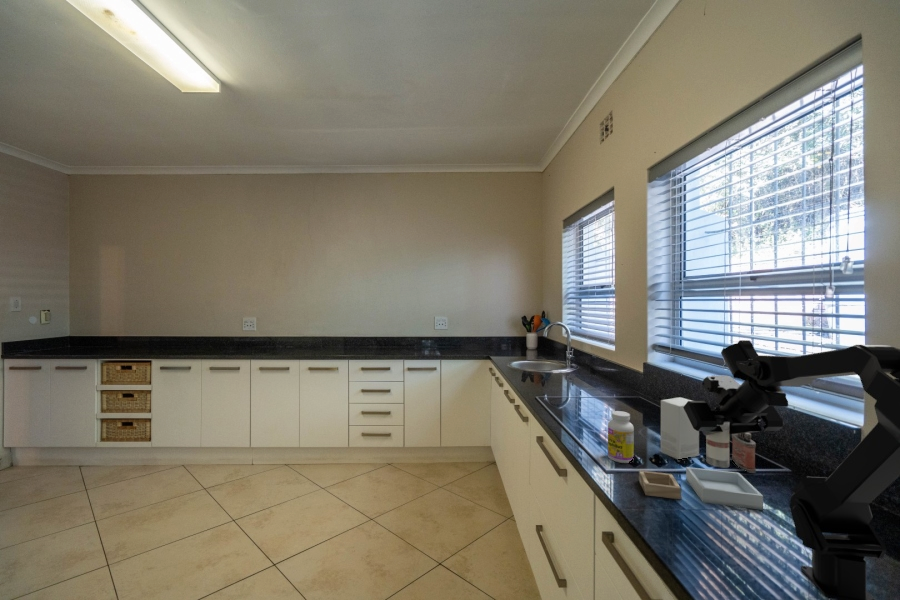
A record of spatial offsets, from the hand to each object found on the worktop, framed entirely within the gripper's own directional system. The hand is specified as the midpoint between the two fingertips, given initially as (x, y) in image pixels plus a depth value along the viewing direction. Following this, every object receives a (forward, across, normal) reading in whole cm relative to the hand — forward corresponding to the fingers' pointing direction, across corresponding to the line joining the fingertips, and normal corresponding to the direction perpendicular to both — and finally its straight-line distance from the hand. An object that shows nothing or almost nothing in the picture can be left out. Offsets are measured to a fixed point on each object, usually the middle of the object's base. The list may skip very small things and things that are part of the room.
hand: (713, 433), depth 89 cm
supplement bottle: (+22, +14, -3) cm, 26 cm away
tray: (+8, -1, +11) cm, 14 cm away
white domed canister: (+4, 0, +6) cm, 7 cm away
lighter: (+18, -17, +1) cm, 25 cm away
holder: (+10, +13, +9) cm, 18 cm away
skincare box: (+24, -5, -5) cm, 25 cm away
